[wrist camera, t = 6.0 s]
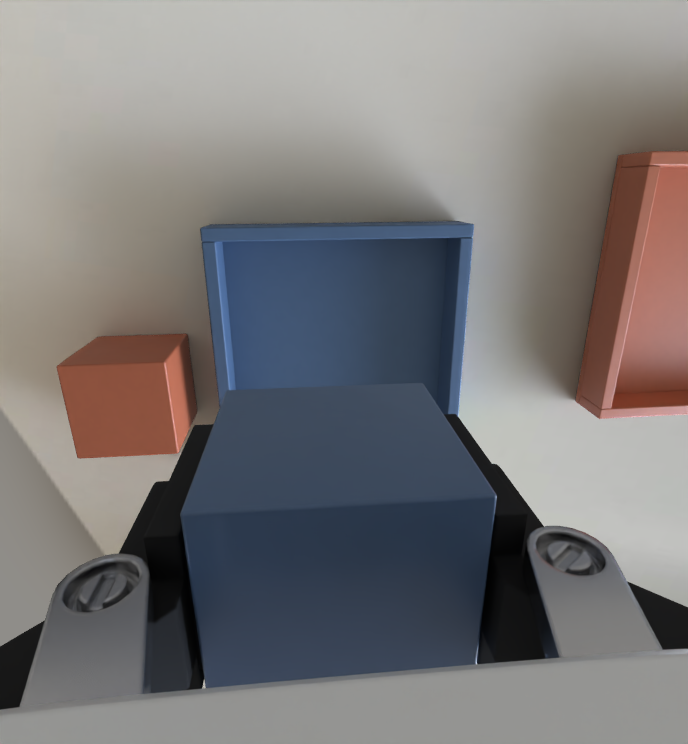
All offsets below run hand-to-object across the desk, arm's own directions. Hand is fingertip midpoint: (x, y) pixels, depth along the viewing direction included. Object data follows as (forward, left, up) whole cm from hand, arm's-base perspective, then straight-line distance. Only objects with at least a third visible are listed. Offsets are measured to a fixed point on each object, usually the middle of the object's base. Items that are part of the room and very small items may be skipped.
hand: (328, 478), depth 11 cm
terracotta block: (+3, -9, -15) cm, 17 cm away
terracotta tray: (-1, +21, -15) cm, 26 cm away
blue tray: (+2, +1, -15) cm, 15 cm away
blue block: (0, 0, 0) cm, 0 cm away
